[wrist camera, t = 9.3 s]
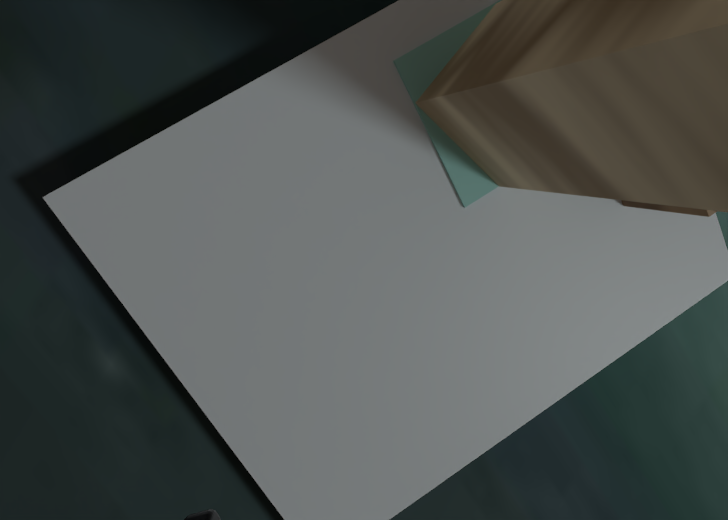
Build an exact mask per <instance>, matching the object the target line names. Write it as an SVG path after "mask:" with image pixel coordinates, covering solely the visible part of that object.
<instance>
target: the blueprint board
mask: <svg viewBox="0 0 728 520" xmlns="http://www.w3.org/2000/svg"><path fill="white" fill-rule="evenodd" d="M500 1H502V0H398V1H397V2H395V3H393V4H391V5H389V6H388V7H386V8H384V9H382V10H380V11H379V12H377V13H375V14H373V15H371V16H370V17H368V18H366V19H364V20H362V21H360V22H359V23H357V24H355V25H353V26H351V27H350V28H348V29H346V30H344V31H342V32H341V33H339V34H337V35H335V36H333V37H332V38H330V39H328V40H326V41H324V42H322V43H321V44H319V45H317V46H315V47H313V48H312V49H310V50H308V51H306V52H304V53H303V54H301V55H299V56H297V57H295V58H294V59H292V60H290V61H288V62H286V63H284V64H283V65H281V66H279V67H277V68H275V69H274V70H272V71H270V72H268V73H266V74H265V75H263V76H261V77H259V78H257V79H256V80H254V81H252V82H250V83H248V84H247V85H245V86H243V87H241V88H239V89H237V90H236V91H234V92H232V93H230V94H228V95H227V96H225V97H223V98H221V99H219V100H218V101H216V102H214V103H212V104H210V105H209V106H207V107H205V108H203V109H201V110H199V111H198V112H196V113H194V114H192V115H190V116H189V117H187V118H185V119H183V120H181V121H180V122H178V123H176V124H174V125H172V126H171V127H169V128H167V129H165V130H163V131H161V132H160V133H158V134H156V135H154V136H152V137H151V138H149V139H147V140H145V141H143V142H142V143H140V144H138V145H136V146H134V147H133V148H131V149H129V150H127V151H125V152H123V153H122V154H120V155H118V156H116V157H114V158H113V159H111V160H109V161H107V162H105V163H104V164H102V165H100V166H98V167H96V168H95V169H93V170H91V171H89V172H87V173H86V174H84V175H82V176H80V177H78V178H76V179H75V180H73V181H71V182H69V183H67V184H66V185H64V186H62V187H60V188H58V189H57V190H55V191H53V192H51V193H49V194H48V195H46V196H44V197H43V199H44V200H45V201H46V203H47V204H48V205H49V207H50V208H51V209H52V211H53V212H54V213H55V215H56V216H57V217H58V219H59V220H60V221H61V223H62V224H63V225H64V227H65V228H66V229H67V231H68V232H69V233H70V235H71V236H72V237H73V239H74V240H75V241H76V243H77V244H78V245H79V247H80V248H81V249H82V251H83V252H84V253H85V255H86V256H87V257H88V259H89V260H90V261H91V263H92V264H93V265H94V267H95V268H96V269H97V271H98V272H99V273H100V275H101V276H102V277H103V279H104V280H105V281H106V283H107V284H108V285H109V287H110V288H111V289H112V291H113V292H114V293H115V295H116V296H117V297H118V299H119V300H120V301H121V303H122V304H123V305H124V307H125V308H126V309H127V311H128V312H129V313H130V315H131V316H132V317H133V319H134V320H135V321H136V323H137V324H138V325H139V327H140V328H141V329H142V331H143V332H144V333H145V335H146V336H147V337H148V339H149V340H150V341H151V343H152V344H153V345H154V347H155V348H156V349H157V351H158V352H159V353H160V355H161V356H162V357H163V359H164V360H165V361H166V363H167V364H168V365H169V367H170V368H171V369H172V371H173V372H174V373H175V375H176V376H177V377H178V379H179V380H180V381H181V383H182V384H183V385H184V387H185V388H186V389H187V391H188V392H189V393H190V395H191V396H192V397H193V399H194V400H195V401H196V403H197V404H198V405H199V407H200V408H201V409H202V411H203V412H204V413H205V415H206V416H207V417H208V419H209V420H210V421H211V423H212V424H213V425H214V427H215V428H216V429H217V431H218V432H219V433H220V435H221V436H222V437H223V439H224V440H225V441H226V443H227V444H228V445H229V447H230V448H231V449H232V451H233V452H234V453H235V455H236V456H237V457H238V459H239V460H240V461H241V463H242V464H243V465H244V467H245V468H246V469H247V471H248V472H249V473H250V475H251V476H252V477H253V479H254V480H255V481H256V483H257V484H258V485H259V487H260V488H261V489H262V491H263V492H264V493H265V495H266V496H267V497H268V499H269V500H270V501H271V503H272V504H273V505H274V507H275V508H276V509H277V511H278V512H279V513H280V515H281V516H282V517H283V519H284V520H389V519H391V518H392V517H394V516H395V515H396V514H398V513H399V512H401V511H402V510H403V509H405V508H406V507H408V506H409V505H411V504H412V503H413V502H415V501H416V500H418V499H419V498H420V497H422V496H423V495H425V494H426V493H428V492H429V491H430V490H432V489H433V488H435V487H436V486H437V485H439V484H440V483H442V482H443V481H445V480H446V479H447V478H449V477H450V476H452V475H453V474H454V473H456V472H457V471H459V470H460V469H462V468H463V467H464V466H466V465H467V464H469V463H470V462H471V461H473V460H474V459H476V458H477V457H479V456H480V455H481V454H483V453H484V452H486V451H487V450H488V449H490V448H491V447H493V446H494V445H496V444H497V443H498V442H500V441H501V440H503V439H504V438H505V437H507V436H508V435H510V434H511V433H513V432H514V431H515V430H517V429H518V428H520V427H521V426H522V425H524V424H525V423H527V422H528V421H530V420H531V419H532V418H534V417H535V416H537V415H538V414H539V413H541V412H542V411H544V410H545V409H547V408H548V407H549V406H551V405H552V404H554V403H555V402H556V401H558V400H559V399H561V398H562V397H564V396H565V395H566V394H568V393H569V392H571V391H572V390H574V389H575V388H576V387H578V386H579V385H581V384H582V383H583V382H585V381H586V380H588V379H589V378H591V377H592V376H593V375H595V374H596V373H598V372H599V371H600V370H602V369H603V368H605V367H606V366H608V365H609V364H610V363H612V362H613V361H615V360H616V359H617V358H619V357H620V356H622V355H623V354H625V353H626V352H627V351H629V350H630V349H632V348H633V347H634V346H636V345H637V344H639V343H640V342H642V341H643V340H644V339H646V338H647V337H649V336H650V335H651V334H653V333H654V332H656V331H657V330H659V329H660V328H661V327H663V326H664V325H666V324H667V323H668V322H670V321H671V320H673V319H674V318H676V317H677V316H678V315H680V314H681V313H683V312H684V311H685V310H687V309H688V308H690V307H691V306H693V305H694V304H695V303H697V302H698V301H700V300H701V299H702V298H704V297H705V296H707V295H708V294H710V293H711V292H712V291H714V290H715V289H717V288H718V287H719V286H721V285H722V284H724V283H725V282H727V281H728V250H727V247H726V244H725V241H724V238H723V235H722V232H721V228H720V225H719V222H718V219H717V216H716V213H714V214H713V215H711V216H710V217H706V216H698V215H690V214H682V213H674V212H666V211H658V210H650V209H643V208H635V207H627V206H623V204H622V201H621V200H615V199H606V198H597V197H588V196H579V195H570V194H561V193H553V192H544V191H535V190H526V189H517V188H508V187H499V186H498V185H497V184H496V183H495V182H494V181H493V180H492V179H491V178H490V177H489V176H488V175H487V174H486V173H485V172H484V171H483V170H482V169H481V168H480V167H479V166H478V165H477V164H476V163H475V162H474V161H473V160H472V159H471V158H470V157H469V156H468V155H467V154H466V153H465V152H464V151H463V150H462V149H461V148H460V147H459V146H458V145H457V144H456V143H455V142H454V141H453V140H452V139H451V138H450V137H449V136H448V135H447V134H446V133H445V132H444V131H443V130H442V129H441V128H440V127H439V126H438V125H437V124H436V123H435V122H434V121H433V120H432V119H431V118H430V117H429V116H428V115H427V114H426V113H425V112H424V111H423V110H422V109H421V108H420V107H419V106H418V105H417V104H416V101H417V100H418V99H419V98H420V96H421V95H422V94H423V93H424V91H425V90H426V89H427V88H428V87H429V85H430V84H431V83H432V82H433V80H434V79H435V78H436V77H437V75H438V74H439V73H440V72H441V71H442V69H443V68H444V67H445V66H446V64H447V63H448V62H449V61H450V59H451V58H452V57H453V56H454V55H455V53H456V52H457V51H458V50H459V48H460V47H461V46H462V45H463V43H464V42H465V41H466V40H467V38H468V37H469V36H470V35H471V34H472V32H473V31H474V30H475V29H476V27H477V26H478V25H479V24H480V22H481V21H482V20H483V19H484V18H485V16H486V15H487V14H488V13H489V11H490V10H491V9H492V8H493V6H494V5H495V4H496V3H498V2H500Z"/></svg>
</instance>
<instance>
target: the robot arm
mask: <svg viewBox="0 0 728 520" xmlns="http://www.w3.org/2000/svg"><path fill="white" fill-rule="evenodd" d="M184 520H221V519H220V517H219V515H218V513H217V512H216V511H215V510H212V509H210V510H206V511H202V512H198V513H194V514H191V515H189V516H187V517H186V518H185V519H184Z"/></svg>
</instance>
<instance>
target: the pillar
mask: <svg viewBox="0 0 728 520" xmlns="http://www.w3.org/2000/svg"><path fill="white" fill-rule="evenodd" d="M416 104H417V105H418V106H419V107H420V108H421V109H422V110H423V111H424V112H425V113H426V114H427V115H428V116H429V117H430V118H431V119H432V120H433V121H434V122H435V123H436V124H437V125H438V126H439V127H440V128H441V129H442V130H443V131H444V132H445V133H446V134H447V135H448V136H449V137H450V138H451V139H452V140H453V141H454V142H455V143H456V144H457V145H458V146H459V147H460V148H461V149H462V150H463V151H464V152H465V153H466V154H467V155H468V156H469V157H470V158H471V159H472V160H473V161H474V162H475V163H476V164H477V165H478V166H479V167H480V168H481V169H482V170H483V171H484V172H485V173H486V174H487V175H488V176H489V177H490V178H491V179H492V180H493V181H494V182H495V183H496V184H497V185H498V186H499V187H508V188H517V189H526V190H535V191H544V192H553V193H561V194H570V195H579V196H588V197H597V198H606V199H615V200H624V201H633V202H641V203H650V204H659V205H668V206H677V207H686V208H695V209H704V210H713V211H721V212H728V0H502V1H500V2H498V3H496V4H495V5H494V6H493V8H492V9H491V10H490V11H489V13H488V14H487V15H486V16H485V18H484V19H483V20H482V21H481V22H480V24H479V25H478V26H477V27H476V29H475V30H474V31H473V32H472V34H471V35H470V36H469V37H468V38H467V40H466V41H465V42H464V43H463V45H462V46H461V47H460V48H459V50H458V51H457V52H456V53H455V55H454V56H453V57H452V58H451V59H450V61H449V62H448V63H447V64H446V66H445V67H444V68H443V69H442V71H441V72H440V73H439V74H438V75H437V77H436V78H435V79H434V80H433V82H432V83H431V84H430V85H429V87H428V88H427V89H426V90H425V91H424V93H423V94H422V95H421V96H420V98H419V99H418V100H417V101H416Z"/></svg>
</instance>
